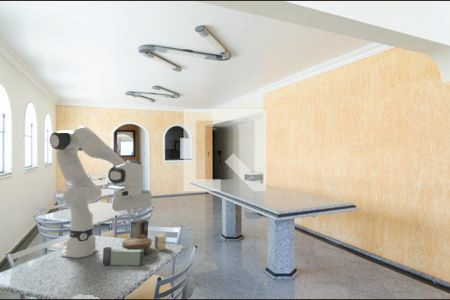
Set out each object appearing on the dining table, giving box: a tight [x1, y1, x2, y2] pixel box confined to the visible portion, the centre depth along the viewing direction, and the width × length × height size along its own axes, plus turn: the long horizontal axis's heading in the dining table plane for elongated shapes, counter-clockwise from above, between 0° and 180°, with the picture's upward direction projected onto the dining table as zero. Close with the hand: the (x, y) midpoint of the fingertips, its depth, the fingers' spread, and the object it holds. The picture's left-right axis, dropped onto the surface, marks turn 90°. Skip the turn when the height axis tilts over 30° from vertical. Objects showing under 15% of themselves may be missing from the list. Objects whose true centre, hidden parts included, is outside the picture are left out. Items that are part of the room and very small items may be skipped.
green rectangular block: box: [102, 246, 145, 266], centre depth 147 cm, size 20×4×8 cm, turn 94°
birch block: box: [154, 234, 167, 252], centre depth 173 cm, size 5×5×8 cm
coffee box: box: [129, 218, 149, 238], centre depth 175 cm, size 9×6×16 cm
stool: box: [122, 237, 153, 255], centre depth 160 cm, size 16×16×8 cm
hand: (132, 217), depth 146 cm, fingers closed
